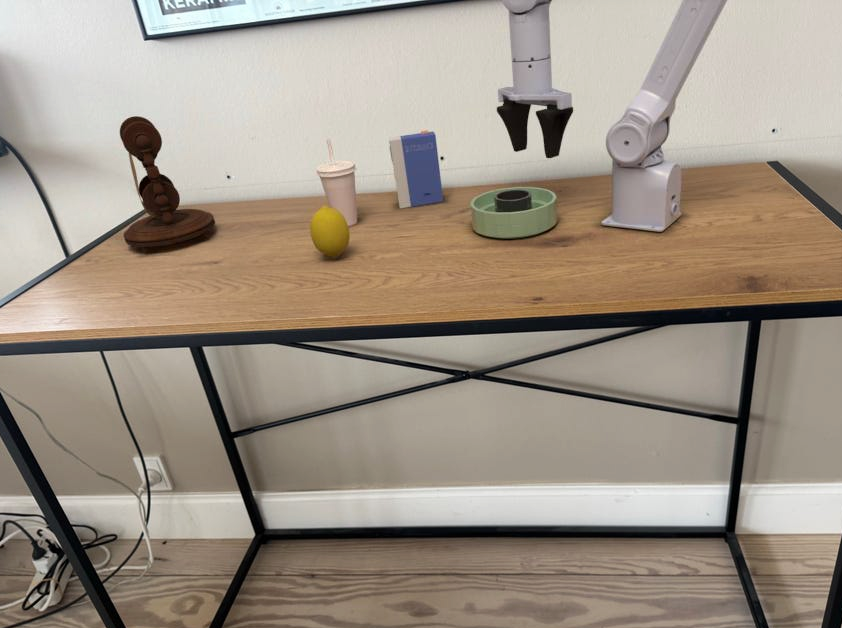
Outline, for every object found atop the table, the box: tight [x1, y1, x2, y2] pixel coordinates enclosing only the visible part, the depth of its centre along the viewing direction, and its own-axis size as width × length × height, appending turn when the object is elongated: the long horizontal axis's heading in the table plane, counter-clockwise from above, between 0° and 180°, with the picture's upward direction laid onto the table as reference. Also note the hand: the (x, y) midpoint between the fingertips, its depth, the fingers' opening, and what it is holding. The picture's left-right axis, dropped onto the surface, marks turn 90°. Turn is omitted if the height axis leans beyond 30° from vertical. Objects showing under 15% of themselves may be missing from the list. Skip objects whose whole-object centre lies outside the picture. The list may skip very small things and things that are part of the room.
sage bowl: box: [470, 186, 558, 240], centre depth 107 cm, size 13×13×4 cm
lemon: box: [309, 205, 350, 259], centre depth 101 cm, size 6×6×8 cm
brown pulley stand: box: [119, 115, 216, 255], centre depth 115 cm, size 15×15×20 cm
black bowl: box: [494, 190, 532, 212], centre depth 106 cm, size 6×6×4 cm
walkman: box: [388, 129, 444, 209], centre depth 120 cm, size 8×3×12 cm, turn 99°
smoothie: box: [315, 138, 358, 227], centre depth 114 cm, size 6×6×14 cm
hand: (536, 153), depth 108 cm, fingers open, 7 cm apart
